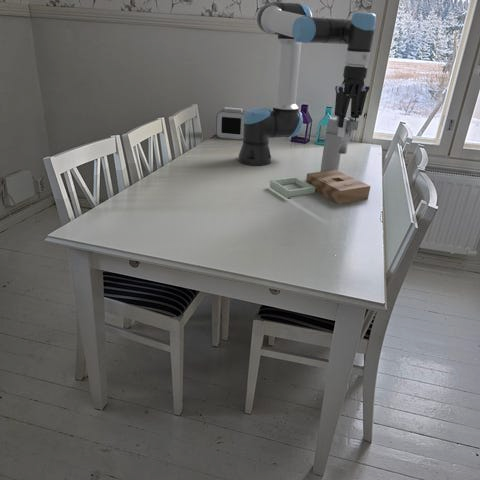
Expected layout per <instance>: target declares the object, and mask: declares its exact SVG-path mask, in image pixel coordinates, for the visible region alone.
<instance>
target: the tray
mask: <svg viewBox="0 0 480 480" xmlns="http://www.w3.org/2000/svg"><path fill="white" fill-rule="evenodd" d="M269 181H270V182H269V188H270V189H271V190H273V191H274V192H276V193H278V194H279V195H280V196H282V197H284V198H285V199H287V200H291V199H292V198H291V197H296V196H302V195H309V194H314V193H316V192H315V188H316V187H314V186H312V185H310V184H309V183H307V182H306V180H305V181H304V180H303V179H301V178H300V177H298V176H291V177H283V178H274V179H270V180H269ZM288 184H296V185H298V186H300V187H301V188H294V189H289V188H287V187H286V186H284V185H288Z"/></svg>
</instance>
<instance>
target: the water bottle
mask: <svg viewBox="0 0 480 480" xmlns="http://www.w3.org/2000/svg"><path fill="white" fill-rule="evenodd" d="M336 120H337V116H332V117H331V116H330V117H329V118H328V121H327V124H326V129H324V130H325V131H326V132H325V136H324V144H323V151H322V157H321V165H320V171H319V172H323V171H331V170H337V171H339V168H340V161H341V155H342V154H340V153H338V149H339V143H340V137H339V136H337V135H338V129H339V127H338V126H336Z"/></svg>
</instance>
